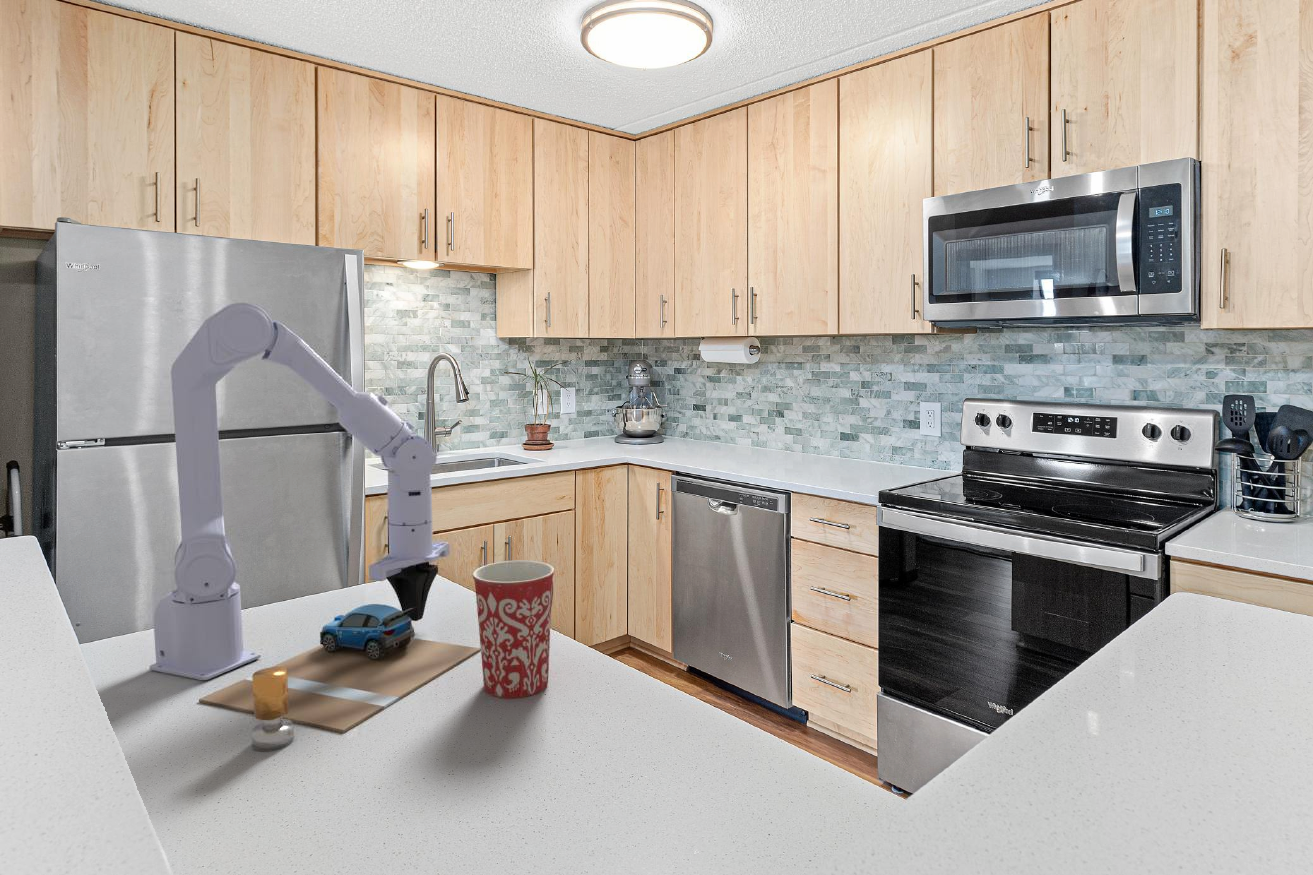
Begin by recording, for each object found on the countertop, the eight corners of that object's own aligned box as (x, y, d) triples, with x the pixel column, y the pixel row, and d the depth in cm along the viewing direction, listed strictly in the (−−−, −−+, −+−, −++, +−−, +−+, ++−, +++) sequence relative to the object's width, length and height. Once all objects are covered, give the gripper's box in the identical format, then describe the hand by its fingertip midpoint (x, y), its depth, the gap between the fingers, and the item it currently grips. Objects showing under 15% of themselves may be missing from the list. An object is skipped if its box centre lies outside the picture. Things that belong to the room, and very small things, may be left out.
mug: (530, 708, 84) (528, 584, 83) (459, 695, 88) (456, 576, 86) (584, 665, 96) (583, 557, 95) (519, 655, 99) (517, 550, 98)
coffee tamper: (243, 747, 76) (239, 677, 75) (274, 730, 79) (270, 663, 78) (272, 754, 74) (268, 683, 74) (302, 737, 78) (298, 668, 77)
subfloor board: (199, 701, 86) (198, 699, 86) (356, 631, 108) (356, 629, 108) (343, 732, 79) (343, 729, 79) (480, 650, 101) (480, 648, 101)
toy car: (346, 636, 105) (345, 594, 105) (420, 647, 101) (419, 604, 101) (313, 651, 100) (311, 607, 99) (390, 663, 96) (388, 618, 95)
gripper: (399, 534, 99) (402, 639, 100) (466, 514, 112) (468, 606, 114) (354, 530, 101) (358, 632, 103) (425, 510, 115) (428, 601, 116)
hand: (413, 618), depth 108 cm, fingers closed
